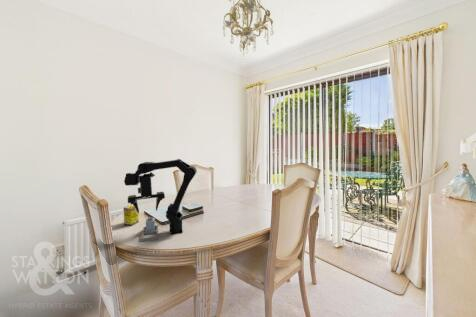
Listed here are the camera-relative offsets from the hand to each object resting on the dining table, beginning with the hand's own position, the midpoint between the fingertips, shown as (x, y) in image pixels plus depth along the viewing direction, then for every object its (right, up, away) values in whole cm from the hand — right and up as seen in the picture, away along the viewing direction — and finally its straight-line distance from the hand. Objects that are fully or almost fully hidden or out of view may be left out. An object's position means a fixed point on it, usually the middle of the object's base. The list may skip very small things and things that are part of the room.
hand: (147, 211), depth 118 cm
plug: (+1, -12, +2) cm, 12 cm away
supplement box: (-16, -11, +13) cm, 23 cm away
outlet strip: (+2, -12, -1) cm, 12 cm away
